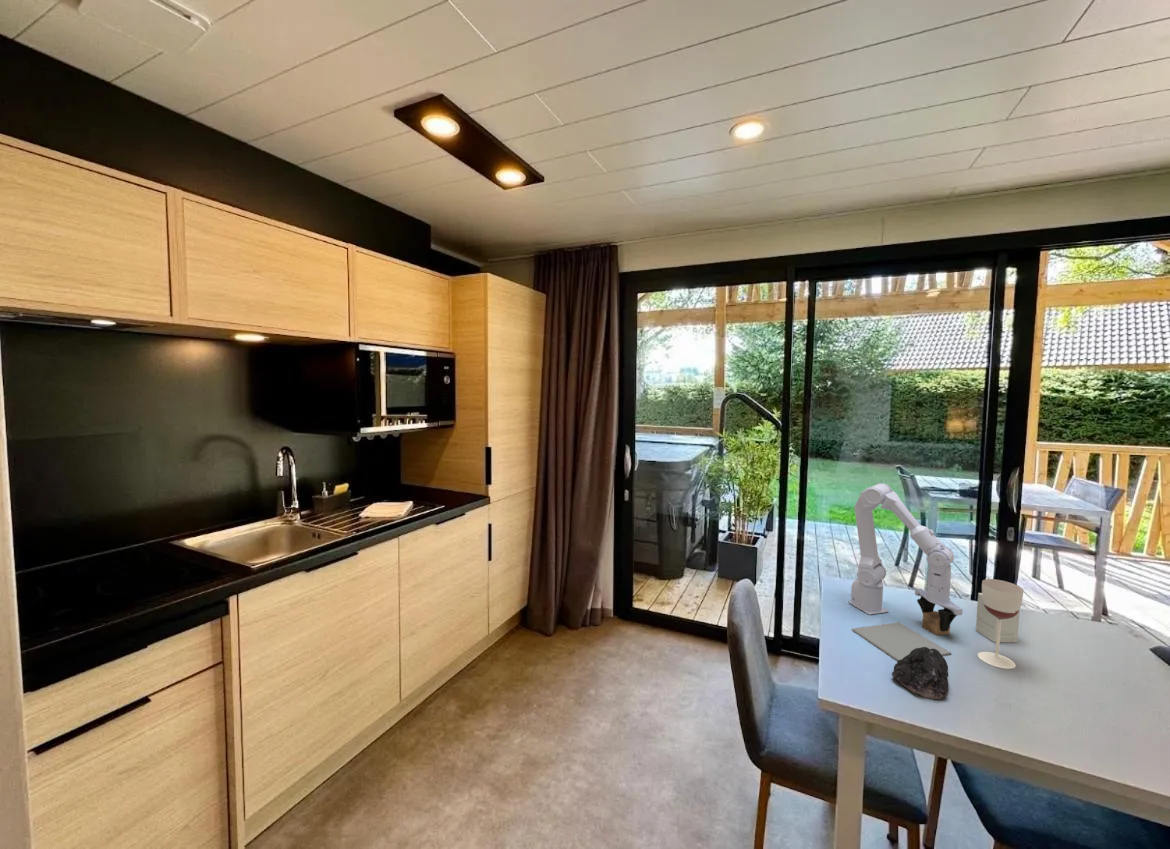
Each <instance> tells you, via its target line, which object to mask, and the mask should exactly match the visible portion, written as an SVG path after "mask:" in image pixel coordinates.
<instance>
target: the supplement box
mask: <svg viewBox="0 0 1170 849" xmlns="http://www.w3.org/2000/svg"><path fill="white" fill-rule="evenodd" d="M1020 611H1021V609H1020V610H1019V612H1018V614H1017V615H1016V616H1015V617H1013V618H1009V619H1002V621H1001V633H1000V643H1018V639H1019V638H1018V637H1019V623H1020V622H1019V621H1020ZM975 620H976V621H975V622H976V623H975V631H976V632H977V633H979V634H980V635H982V636H984V637H985V638H986V639H988V640H990V641H991V642H993V643H996V634H997V622H998V618H997V617H995V616H993V615H992V614H991V613H990V612H988V611H987V609H986V608H985V606H984V603H983V600H982V592H978V593H977V604H976V619H975Z"/></svg>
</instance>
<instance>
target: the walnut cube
mask: <svg viewBox="0 0 1170 849" xmlns="http://www.w3.org/2000/svg"><path fill="white" fill-rule="evenodd" d="M922 629H923V630H924V629H925V630H926V631H927V632H929V633H932V634H933V635H934V636H943V635H949V634H950V631H951V625H950V626H949V629H948V631H944V632H943V631H941V629H940V616H939V612H938V610H937V611H936V610H933V611H932V612H925V613H922Z"/></svg>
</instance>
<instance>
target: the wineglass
mask: <svg viewBox="0 0 1170 849" xmlns="http://www.w3.org/2000/svg"><path fill="white" fill-rule="evenodd" d="M981 593H982V600H983V603H984V606H985V608H986V609H987V611H988V612H990V613H991V614H992V615H993V616H995V617H997V618H998V622H997V634H996V642H995V646H994V647H995V648H994V652H991V651H981V652H978V653H977V657H978V658H979V659H980V660H981V661H982V662H984V663H985V664H989V665H991V666H993V667H996V668H997V667H998V668H1000V669H1007V670H1010V669H1012V670H1013V669H1015V668H1016V663H1015V661H1013V660H1011V659H1010V658H1008V657H1006V656H1005V655H1002V654H1000V643H1001V642H1000V633H1001V621H1002V619H1009V618H1013V617H1015V616H1016V615H1017V614H1018V612H1019V613H1020V611H1021V607H1022V603H1023V597H1024V589H1023V588H1022V587H1020V586H1019V585H1017V584H1014V583H1012V582H1009V581H1006V580H1001V579H996V578H995V579H994V578H986V579H982V582H981ZM1019 610H1020V611H1019Z"/></svg>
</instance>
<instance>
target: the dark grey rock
mask: <svg viewBox="0 0 1170 849" xmlns="http://www.w3.org/2000/svg"><path fill="white" fill-rule="evenodd" d="M891 676H892V678H893V679H894V680H896V681H897V682H898V683H900V684H901V685H902V686H904V687H905V688H906V689H907V690H909V691H910V692H912V693H914V694H918V695H920V696H922V697H924V698H928V699H933V700H941V699H943V698H944V697H946V696H947V695H948V694H949V690H950V688H949V666H948V662H947V660H946V659H945V657H944V656H942V655H941V653H940V652H939V651H938V650H936V649H933V648H932V649H929V648H927V647H921V648H915V649H914V650H912V651H911V652H910V654H909V655H907V656H905V657H904V658H903V659H901V660H898V661H896V663H895V664H894V666H893V671H892V672H891Z"/></svg>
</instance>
